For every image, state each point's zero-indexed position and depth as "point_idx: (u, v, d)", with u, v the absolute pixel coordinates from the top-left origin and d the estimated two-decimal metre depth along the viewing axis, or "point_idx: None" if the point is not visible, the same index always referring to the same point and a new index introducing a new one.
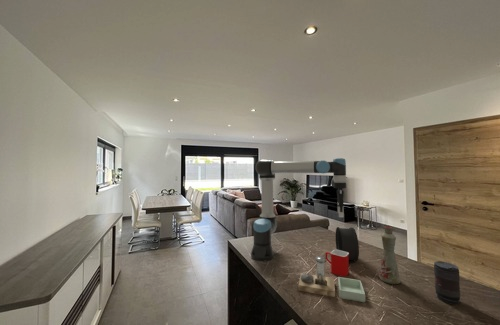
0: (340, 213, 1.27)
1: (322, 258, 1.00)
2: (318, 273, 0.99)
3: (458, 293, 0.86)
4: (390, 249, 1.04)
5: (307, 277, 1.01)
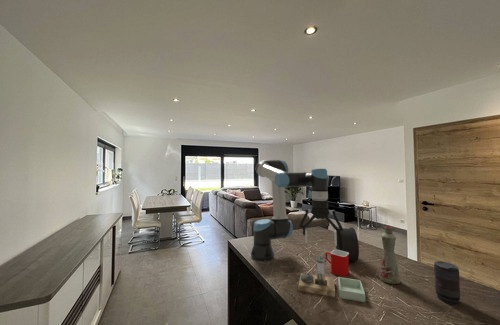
0: None
1: (322, 258, 1.00)
2: (318, 273, 0.99)
3: (458, 293, 0.86)
4: (390, 249, 1.04)
5: (307, 277, 1.01)
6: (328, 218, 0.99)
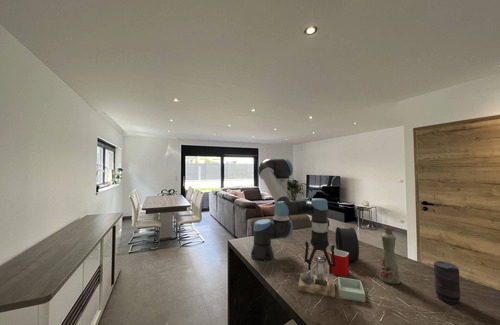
0: None
1: (322, 258, 1.00)
2: (318, 273, 0.99)
3: (458, 293, 0.86)
4: (390, 249, 1.04)
5: (307, 277, 1.01)
6: (326, 252, 0.98)
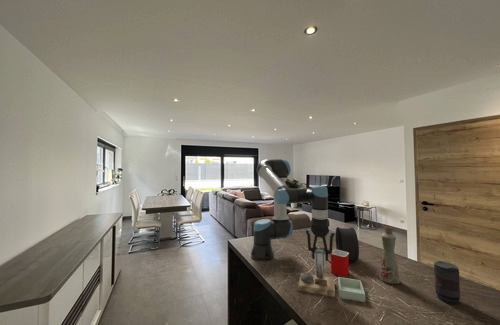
0: None
1: (321, 248, 1.00)
2: (317, 263, 0.99)
3: (458, 293, 0.86)
4: (390, 249, 1.04)
5: (307, 277, 1.01)
6: (325, 239, 0.98)
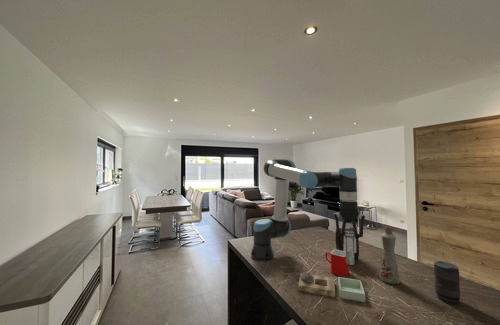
0: None
1: (351, 232, 0.96)
2: (347, 248, 0.95)
3: (458, 293, 0.86)
4: (390, 249, 1.04)
5: (307, 277, 1.01)
6: None
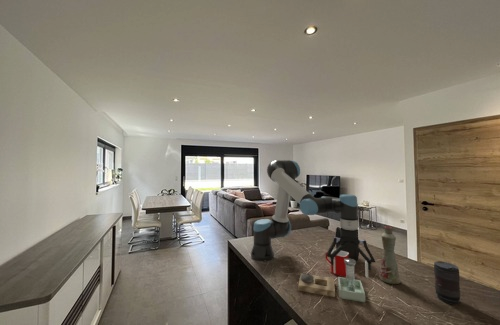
0: (333, 266, 0.99)
1: (352, 261, 0.95)
2: (348, 276, 0.95)
3: (458, 293, 0.86)
4: (390, 249, 1.04)
5: (307, 277, 1.01)
6: (359, 248, 0.93)
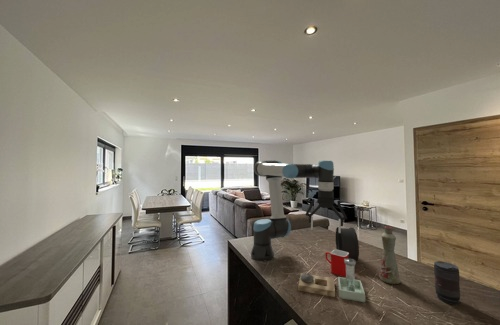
0: (311, 224, 1.10)
1: (352, 261, 0.95)
2: (348, 276, 0.95)
3: (458, 293, 0.86)
4: (390, 249, 1.04)
5: (307, 277, 1.01)
6: (333, 207, 1.05)
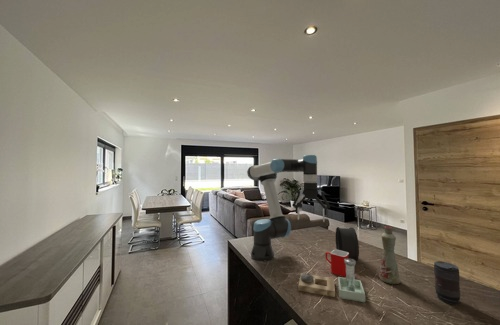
0: None
1: (352, 261, 0.95)
2: (348, 276, 0.95)
3: (458, 293, 0.86)
4: (390, 249, 1.04)
5: (307, 277, 1.01)
6: (317, 198, 1.14)
